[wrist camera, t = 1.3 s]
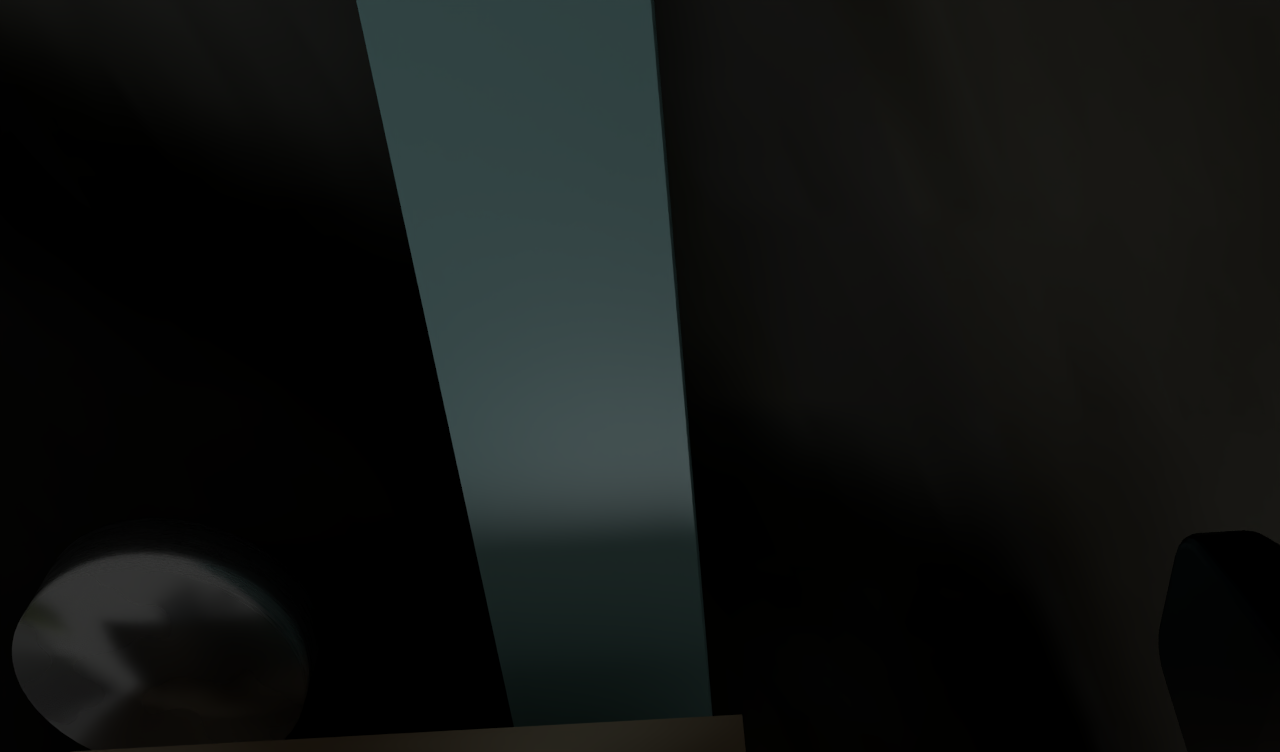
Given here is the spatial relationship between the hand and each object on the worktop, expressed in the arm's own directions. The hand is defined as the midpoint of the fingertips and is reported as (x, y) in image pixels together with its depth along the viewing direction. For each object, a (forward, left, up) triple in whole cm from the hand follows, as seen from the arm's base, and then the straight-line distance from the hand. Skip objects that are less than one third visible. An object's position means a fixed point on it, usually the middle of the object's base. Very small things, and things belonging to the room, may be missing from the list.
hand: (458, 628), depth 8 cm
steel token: (+8, +10, -11) cm, 17 cm away
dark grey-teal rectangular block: (0, +5, -11) cm, 12 cm away
